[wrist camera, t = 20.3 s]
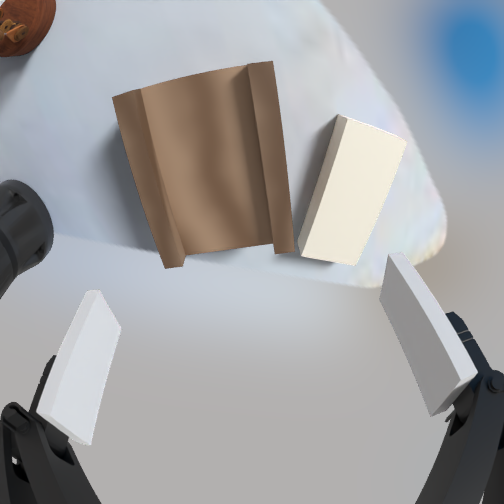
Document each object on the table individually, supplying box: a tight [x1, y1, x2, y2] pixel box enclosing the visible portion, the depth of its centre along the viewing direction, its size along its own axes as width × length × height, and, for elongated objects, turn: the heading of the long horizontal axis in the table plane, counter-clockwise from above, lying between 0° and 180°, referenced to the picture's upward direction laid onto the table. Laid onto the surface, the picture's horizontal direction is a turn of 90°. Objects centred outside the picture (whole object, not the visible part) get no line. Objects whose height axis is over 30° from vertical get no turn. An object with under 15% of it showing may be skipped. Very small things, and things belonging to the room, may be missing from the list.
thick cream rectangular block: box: [297, 114, 407, 266], centre depth 35 cm, size 8×18×4 cm, turn 168°
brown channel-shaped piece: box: [112, 61, 295, 269], centre depth 29 cm, size 14×18×10 cm
